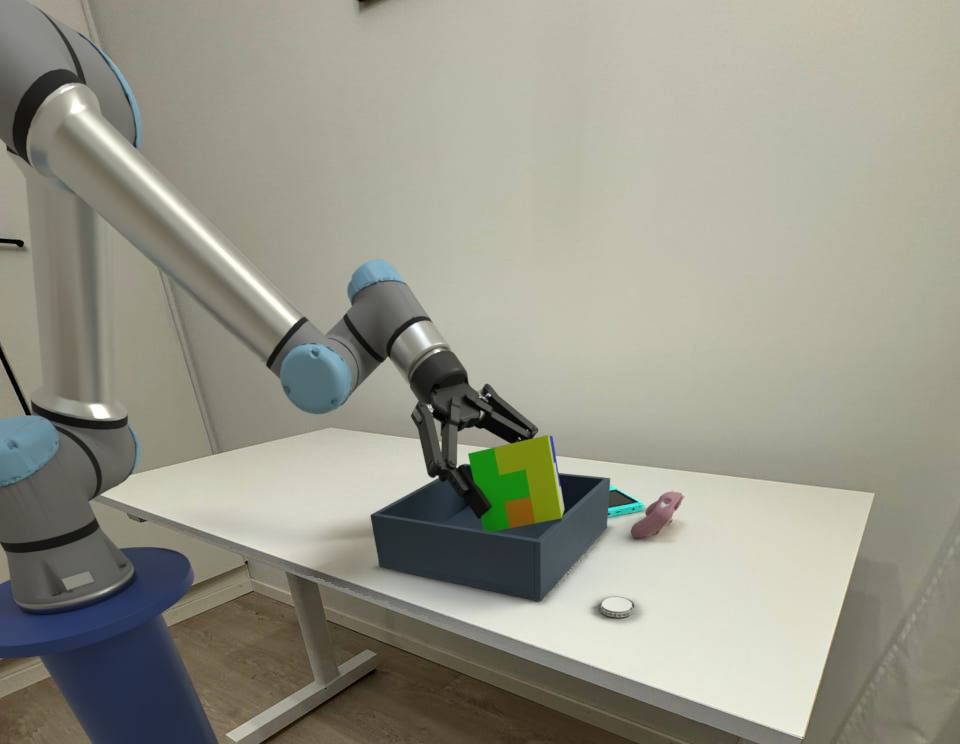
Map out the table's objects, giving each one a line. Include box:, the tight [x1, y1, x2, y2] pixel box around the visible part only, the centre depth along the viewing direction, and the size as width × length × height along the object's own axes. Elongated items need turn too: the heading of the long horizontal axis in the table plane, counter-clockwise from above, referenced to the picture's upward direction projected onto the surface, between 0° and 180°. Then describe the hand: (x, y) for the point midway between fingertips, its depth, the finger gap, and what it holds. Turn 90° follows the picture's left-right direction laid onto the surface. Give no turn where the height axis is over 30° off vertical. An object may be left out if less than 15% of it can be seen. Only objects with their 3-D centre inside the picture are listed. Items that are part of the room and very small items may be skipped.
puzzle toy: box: [467, 434, 565, 532], centre depth 74 cm, size 10×10×10 cm
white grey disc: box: [599, 596, 635, 618], centre depth 66 cm, size 4×4×1 cm
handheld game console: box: [608, 484, 645, 518], centre depth 98 cm, size 10×16×1 cm, turn 19°
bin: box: [370, 463, 611, 602], centre depth 82 cm, size 26×26×8 cm
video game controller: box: [630, 489, 685, 539], centre depth 84 cm, size 10×5×7 cm, turn 151°
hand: (519, 497), depth 74 cm, fingers closed on puzzle toy, 13 cm apart
